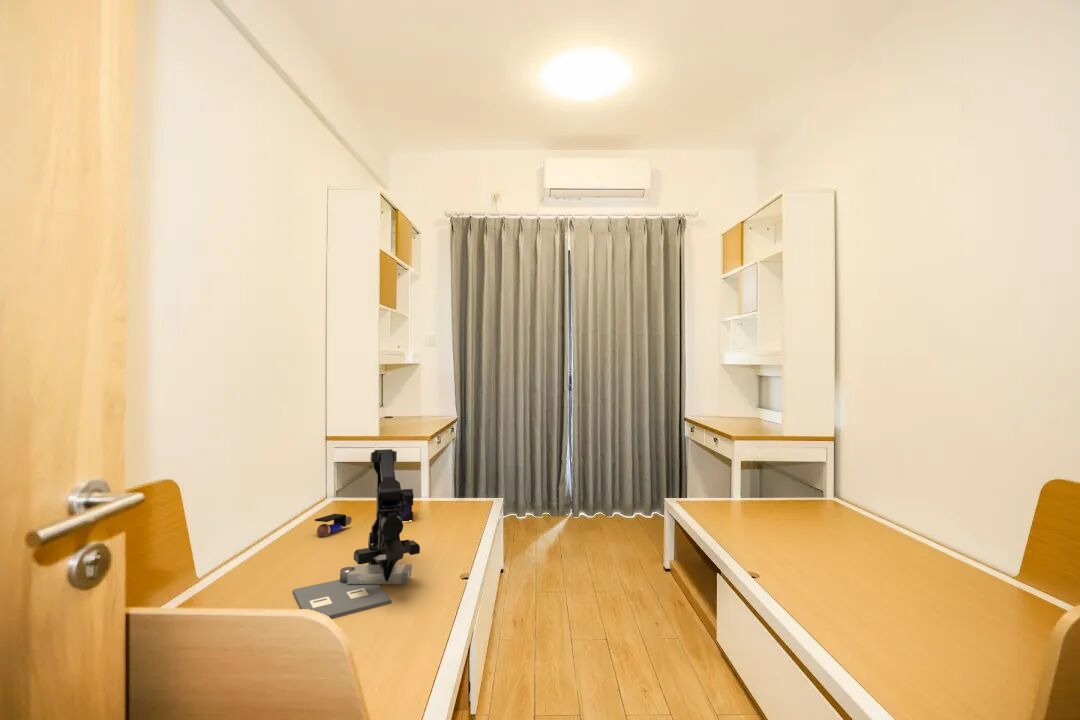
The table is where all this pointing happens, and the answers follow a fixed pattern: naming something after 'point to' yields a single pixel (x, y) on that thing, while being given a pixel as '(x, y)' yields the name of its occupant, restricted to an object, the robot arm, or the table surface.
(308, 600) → the label board
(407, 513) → the energy cube
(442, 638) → the table surface
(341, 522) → the figurine character
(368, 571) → the grey long block
